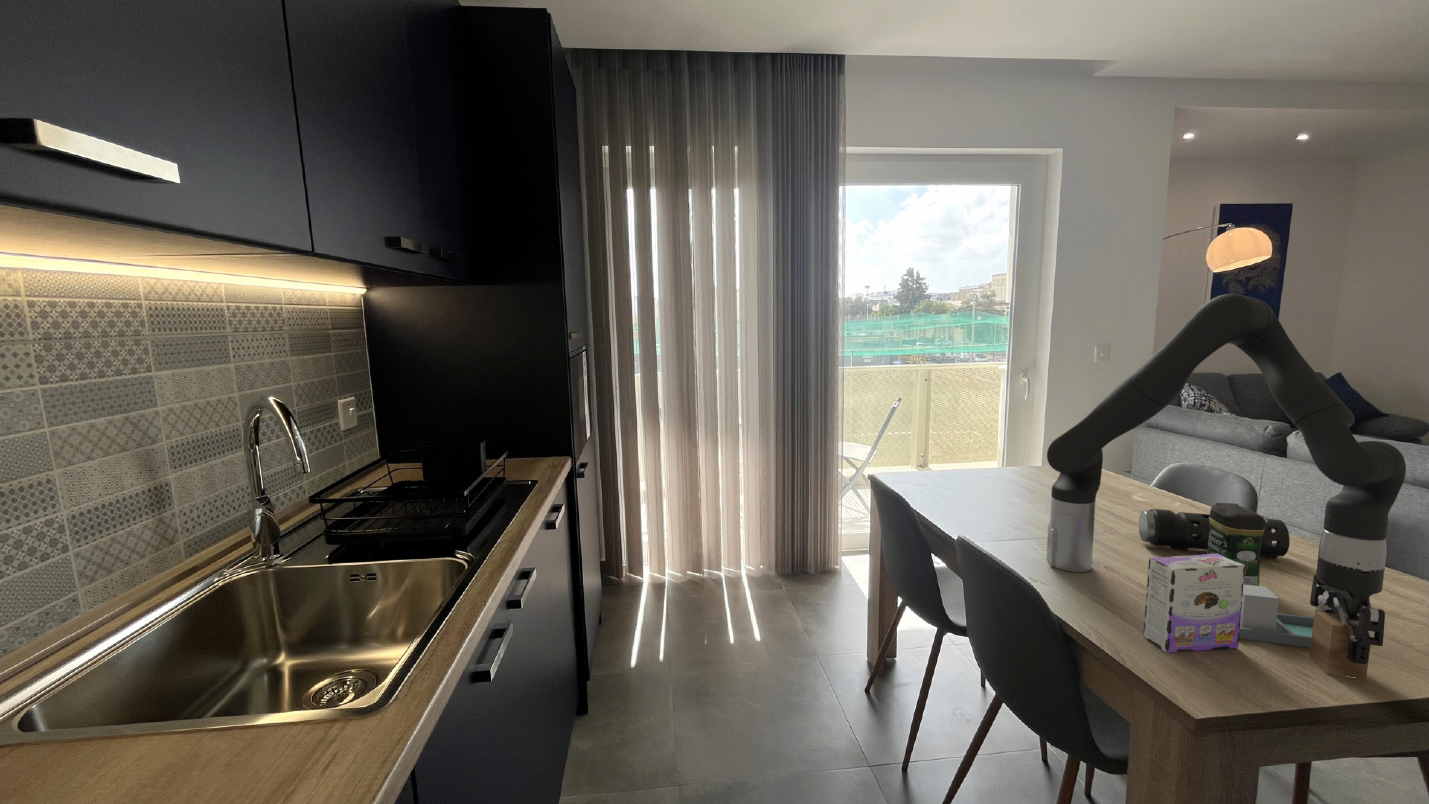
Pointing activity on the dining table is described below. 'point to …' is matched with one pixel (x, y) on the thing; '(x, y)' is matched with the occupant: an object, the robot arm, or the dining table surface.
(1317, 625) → the walnut plug
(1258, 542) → the coffee jar
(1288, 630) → the divider rack
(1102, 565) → the dining table surface
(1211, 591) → the candy box
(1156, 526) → the muzzle brake
